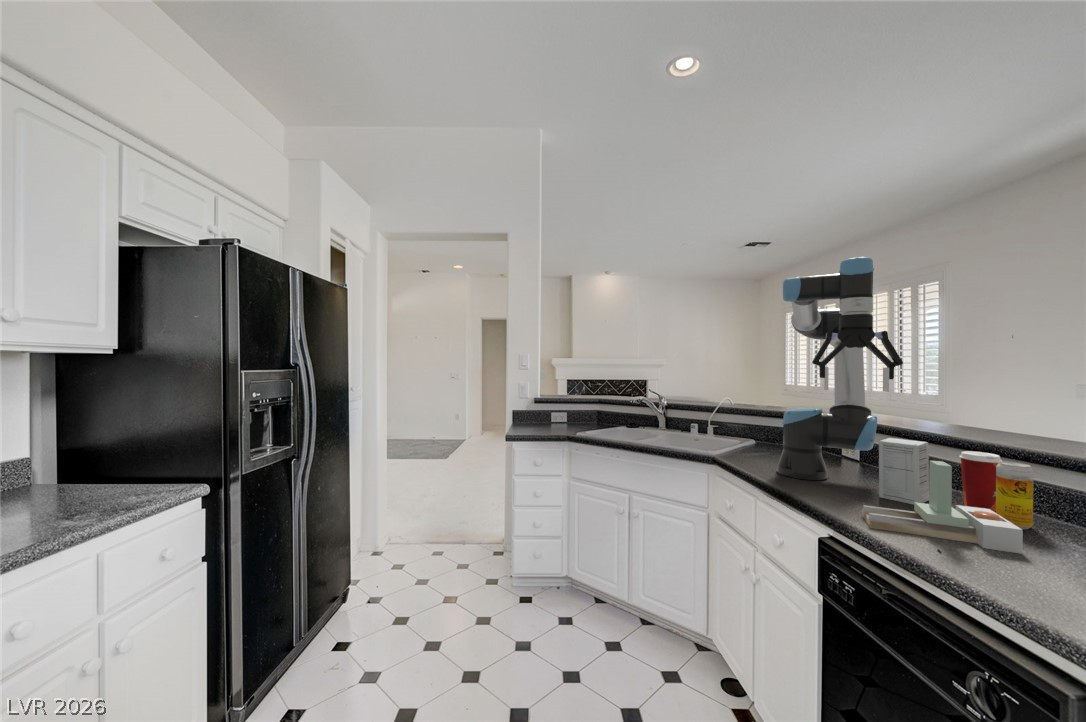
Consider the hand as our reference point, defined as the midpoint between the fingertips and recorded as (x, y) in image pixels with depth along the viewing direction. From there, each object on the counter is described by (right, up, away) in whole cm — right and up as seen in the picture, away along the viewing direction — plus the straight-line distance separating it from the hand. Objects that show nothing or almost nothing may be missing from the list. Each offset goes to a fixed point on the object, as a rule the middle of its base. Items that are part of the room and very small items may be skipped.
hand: (855, 390), depth 118 cm
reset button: (+13, -30, -22) cm, 40 cm away
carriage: (+6, -29, -19) cm, 35 cm away
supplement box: (+18, -32, +5) cm, 37 cm away
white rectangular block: (+13, -32, -22) cm, 41 cm away
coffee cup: (+32, -32, -3) cm, 45 cm away
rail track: (+2, -32, -17) cm, 36 cm away
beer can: (+28, -32, -14) cm, 45 cm away
